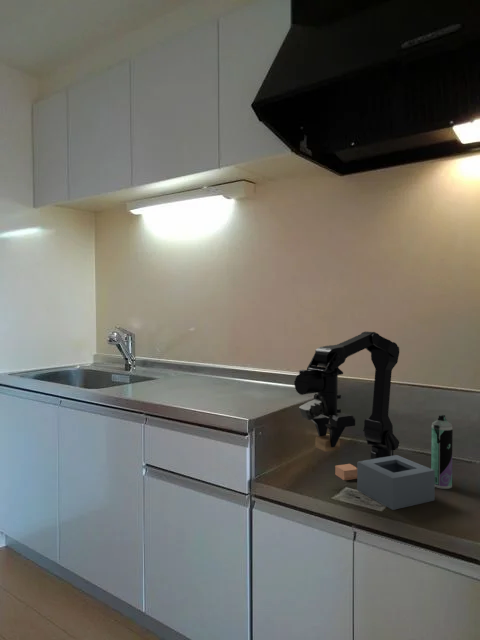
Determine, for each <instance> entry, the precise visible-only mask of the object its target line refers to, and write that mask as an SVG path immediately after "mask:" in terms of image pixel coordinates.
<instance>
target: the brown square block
mask: <svg viewBox="0 0 480 640" xmlns="http://www.w3.org/2000/svg"><path fill="white" fill-rule="evenodd" d="M314 440H315V441H314V442H315V448H316V449H319V450H321V451H322V452H332V451H339V450H340V449H341V440H340V438H339V440H338V442H337V444H336V446H335V447H331V443H330V434H326V435H324V436H319V435H318V436H317V435H316V436H315V439H314Z"/></svg>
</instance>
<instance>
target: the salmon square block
mask: <svg viewBox="0 0 480 640" xmlns="http://www.w3.org/2000/svg"><path fill="white" fill-rule="evenodd" d="M334 468H335V472H334V473H335V476H337V477H338V478H339V479H341V480H343V481H349V480H350V481H351V480H357V467H356V466H355V465H353V464H351V463H346V464H338V465H337V464H336V465H334Z"/></svg>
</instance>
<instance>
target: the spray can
mask: <svg viewBox="0 0 480 640" xmlns="http://www.w3.org/2000/svg"><path fill="white" fill-rule="evenodd" d="M453 431H454V430H453V424H452V423H451V422H449V421H448V419H446V414H445V415H444V414H442V415H438V418H436V420H435V421H432V423H431V450H430V451H431V455H430V456H431V461H430V462H431V467H430V469H433V470H435V488H438V489H442V490H448V489H452V488H453V437H454V436H453V435H454V434H453Z"/></svg>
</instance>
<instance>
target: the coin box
mask: <svg viewBox="0 0 480 640" xmlns="http://www.w3.org/2000/svg"><path fill="white" fill-rule="evenodd" d="M356 463H357V464H356V466H357V467H356V468H357V479H356V481H357V484H356V490H357V491H358V492H359V493H362V494H364V495H365V496H367V497H369V498H370V499H372V500H373V501H376V502H377V503H379V504H381V505H383V506H385V507H386V508H388V509H390V510H391V511H395V510H398V509H403V508H408V507H412V506H416V505H420V504H426V503H429V502H430V503H431V502H434V501H435V498H436V497H435V489H436V487H435V470H433V469H431V467H428V466H426V465H424V464H423V465H422V464H420V463H418V462H415V461H413V460H410V459H407V458H405V457H403V456H400V455H398V454H394V456H388V457H382V458H376V459H371V458H370V459H365V460H364V459H363V460H360V461H357V462H356Z"/></svg>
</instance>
